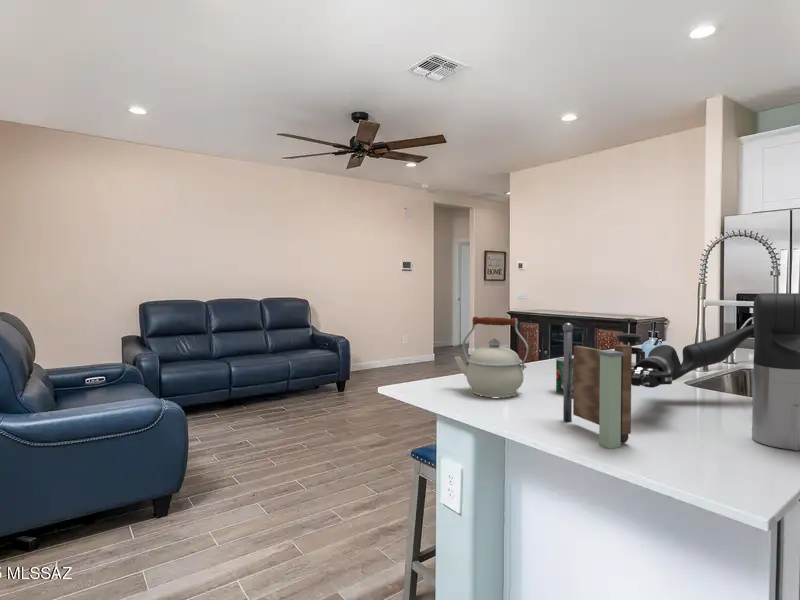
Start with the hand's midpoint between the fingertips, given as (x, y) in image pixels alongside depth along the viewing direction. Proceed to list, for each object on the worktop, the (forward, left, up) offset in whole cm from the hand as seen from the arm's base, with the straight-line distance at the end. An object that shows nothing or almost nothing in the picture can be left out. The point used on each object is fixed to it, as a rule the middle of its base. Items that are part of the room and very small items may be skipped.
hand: (635, 381), depth 110 cm
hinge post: (+13, +9, -12) cm, 19 cm away
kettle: (+47, +7, -12) cm, 49 cm away
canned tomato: (+34, -15, -12) cm, 39 cm away
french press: (+35, -47, -12) cm, 60 cm away
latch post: (-4, +15, -12) cm, 19 cm away
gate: (+3, +10, -12) cm, 16 cm away
